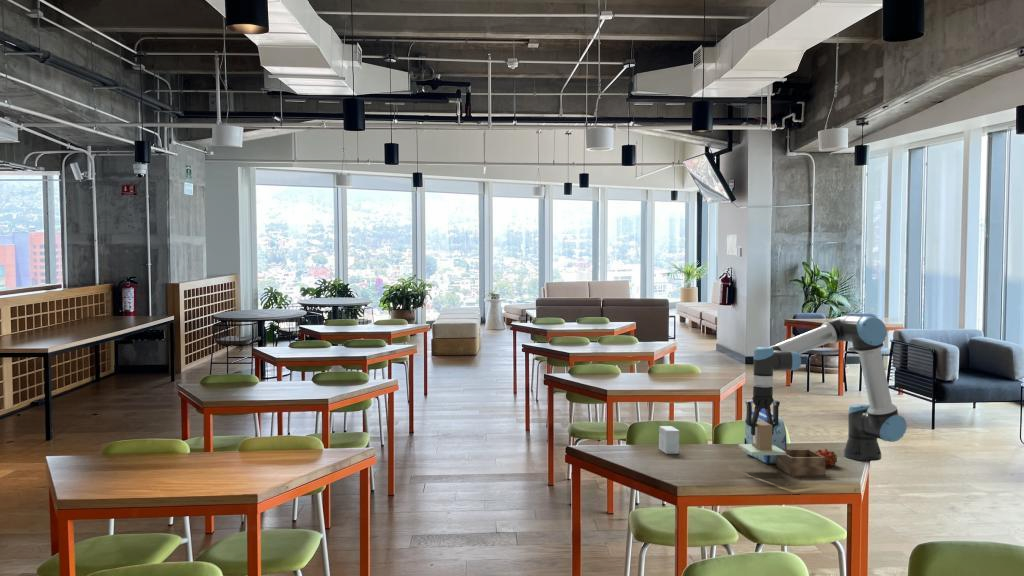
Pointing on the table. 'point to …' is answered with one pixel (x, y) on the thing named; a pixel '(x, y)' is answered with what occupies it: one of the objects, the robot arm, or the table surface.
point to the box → (801, 462)
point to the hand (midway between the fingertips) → (761, 443)
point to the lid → (762, 442)
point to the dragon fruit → (828, 457)
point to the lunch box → (777, 437)
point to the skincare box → (668, 439)
